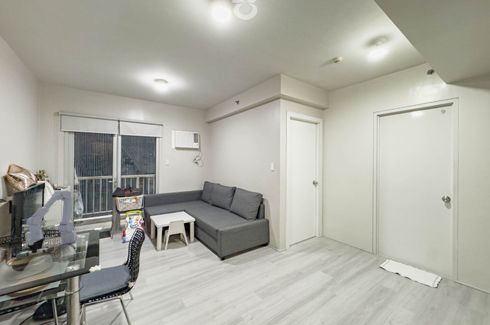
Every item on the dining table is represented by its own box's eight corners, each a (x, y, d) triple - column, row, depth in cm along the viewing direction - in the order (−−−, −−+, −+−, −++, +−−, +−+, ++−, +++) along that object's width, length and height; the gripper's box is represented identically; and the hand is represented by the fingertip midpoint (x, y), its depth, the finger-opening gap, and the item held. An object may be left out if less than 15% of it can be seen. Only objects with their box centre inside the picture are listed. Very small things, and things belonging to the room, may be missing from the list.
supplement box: (44, 244, 168) (42, 229, 167) (34, 248, 160) (32, 232, 160) (36, 244, 169) (35, 229, 168) (26, 248, 161) (24, 232, 161)
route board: (58, 248, 158) (58, 244, 158) (53, 253, 150) (52, 248, 150) (22, 255, 149) (21, 250, 149) (14, 261, 141) (13, 256, 141)
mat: (63, 244, 165) (62, 244, 164) (59, 247, 159) (59, 247, 159) (26, 251, 155) (26, 251, 155) (21, 255, 150) (21, 254, 150)
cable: (54, 249, 155) (54, 246, 154) (52, 251, 152) (52, 247, 152) (22, 255, 147) (22, 252, 147) (19, 257, 144) (19, 253, 144)
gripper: (33, 230, 154) (35, 248, 154) (22, 237, 140) (24, 256, 141) (45, 228, 157) (47, 245, 157) (35, 235, 143) (37, 254, 144)
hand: (37, 250), depth 149 cm, fingers open, 7 cm apart
